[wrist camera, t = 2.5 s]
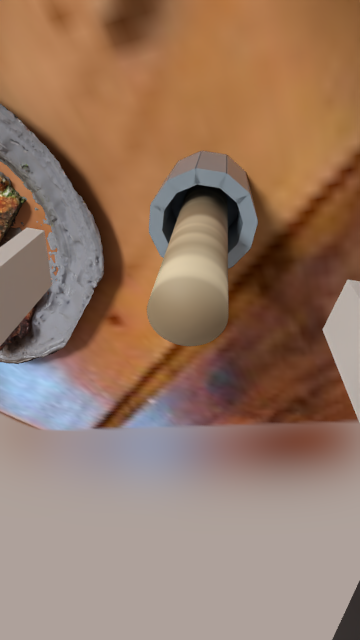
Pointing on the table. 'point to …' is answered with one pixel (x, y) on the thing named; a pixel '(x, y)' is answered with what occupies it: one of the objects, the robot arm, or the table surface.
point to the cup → (214, 174)
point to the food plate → (67, 236)
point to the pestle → (194, 272)
